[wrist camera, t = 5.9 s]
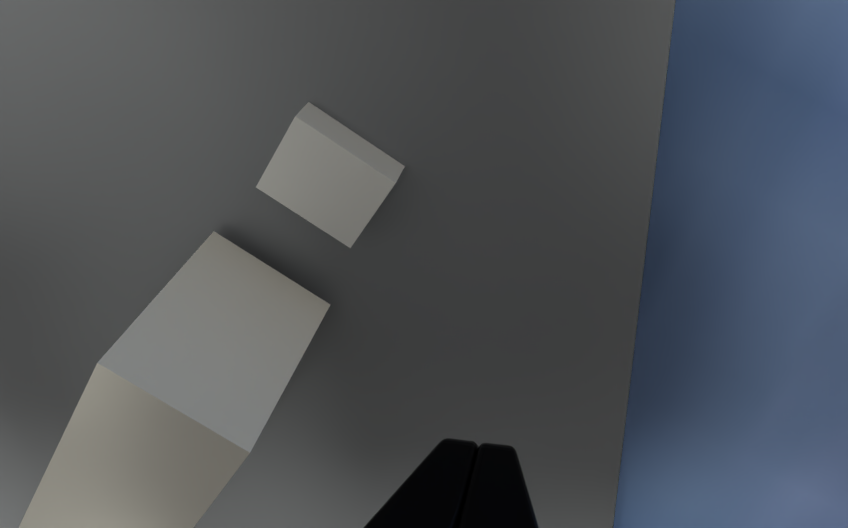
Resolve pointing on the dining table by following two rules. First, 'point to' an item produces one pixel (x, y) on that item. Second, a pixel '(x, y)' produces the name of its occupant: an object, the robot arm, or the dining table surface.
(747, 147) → the dining table surface
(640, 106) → the dial board
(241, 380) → the beige wooden bar
